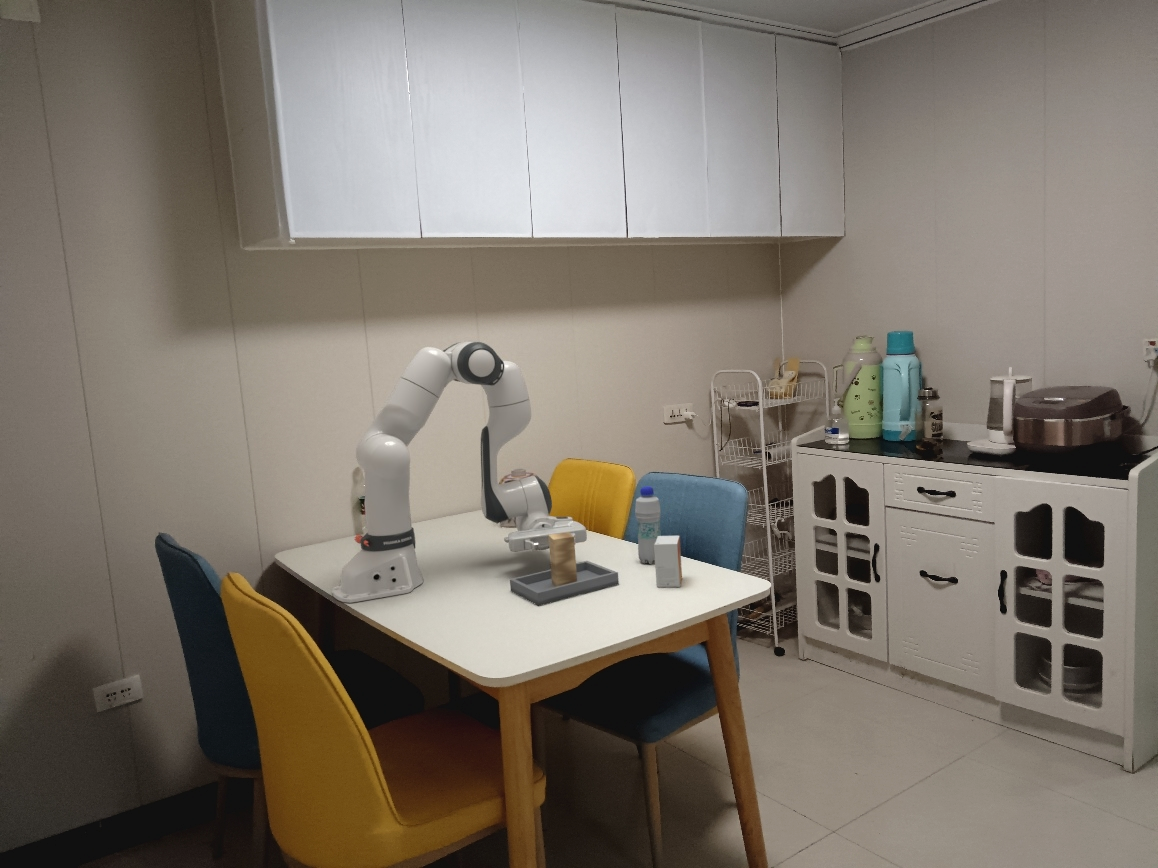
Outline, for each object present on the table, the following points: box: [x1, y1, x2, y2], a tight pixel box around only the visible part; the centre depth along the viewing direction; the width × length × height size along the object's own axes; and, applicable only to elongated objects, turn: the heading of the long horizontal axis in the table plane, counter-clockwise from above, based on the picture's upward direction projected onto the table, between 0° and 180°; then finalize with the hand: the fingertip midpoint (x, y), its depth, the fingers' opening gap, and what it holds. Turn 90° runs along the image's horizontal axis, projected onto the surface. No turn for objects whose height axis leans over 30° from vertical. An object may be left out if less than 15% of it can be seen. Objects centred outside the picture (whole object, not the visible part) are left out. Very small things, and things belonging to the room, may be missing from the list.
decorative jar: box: [498, 467, 540, 528], centre depth 264 cm, size 12×12×18 cm
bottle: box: [634, 486, 662, 565], centre depth 211 cm, size 7×7×20 cm
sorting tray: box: [509, 560, 619, 607], centre depth 195 cm, size 22×14×3 cm, turn 122°
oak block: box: [548, 532, 577, 587], centre depth 194 cm, size 5×5×12 cm
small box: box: [654, 535, 683, 588], centre depth 194 cm, size 8×6×10 cm
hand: (554, 544), depth 201 cm, fingers open, 8 cm apart
